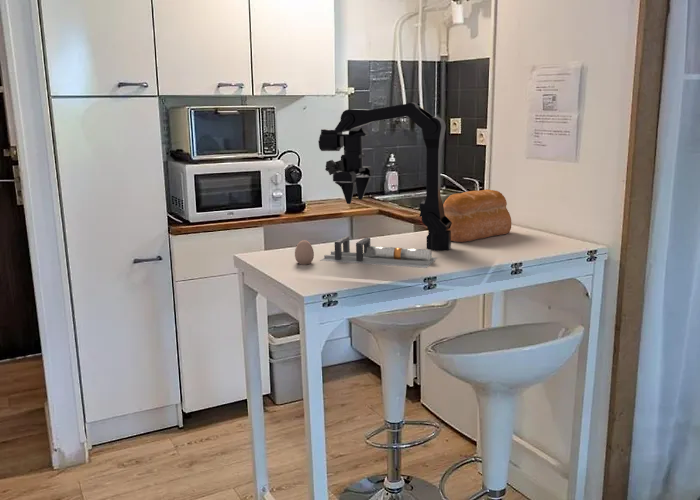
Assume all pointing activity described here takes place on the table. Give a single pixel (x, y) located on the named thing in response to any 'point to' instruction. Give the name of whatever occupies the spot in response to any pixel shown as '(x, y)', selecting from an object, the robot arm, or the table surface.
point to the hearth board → (376, 260)
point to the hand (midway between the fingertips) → (354, 201)
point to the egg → (304, 252)
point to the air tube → (399, 253)
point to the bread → (477, 215)
